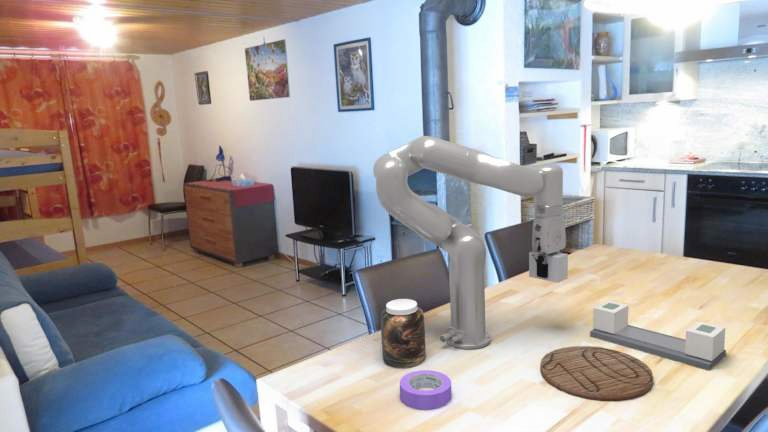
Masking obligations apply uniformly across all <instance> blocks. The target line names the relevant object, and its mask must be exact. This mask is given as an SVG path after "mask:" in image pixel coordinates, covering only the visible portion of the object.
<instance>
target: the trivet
mask: <svg viewBox="0 0 768 432" xmlns="http://www.w3.org/2000/svg"><path fill="white" fill-rule="evenodd" d="M539 371H540V374H541V377H542V379H544V381H546V382H547V384H548V385H549V386H551V387H553V388H555V389H556V390H557V391H560V392H562V393H565V394H567V395H570V396H572V397H573V396H574V397H576V398H581V399H585V400H591V401H596V402H597V401H598V402H622V401H629V400H634V399H638V398H640V397H642V396H643V397H644V395H646V394H647V393H649V392H650V391H651V389H652V387H653V385H654V375H653V370H652V369H651V368H650V367H649V366H648V365H647V364H646V363H645V362H643V361H642V360H640V359H639V358H637V357H635V356H632V355H631V354H629V353H626V352H622V351H618V350H616V349H611V348H606V347H602V346H601V347H600V346H592V345H591V346H590V345H588V346H587V345H580V346H579V345H574V346H567V347H561V348H557V349H553V350H552V351H549V352H548V353H545V355H544V356H543V357H542V358H541V360H540V364H539Z"/></svg>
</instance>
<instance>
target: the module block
mask: <svg viewBox="0 0 768 432" xmlns="http://www.w3.org/2000/svg"><path fill="white" fill-rule="evenodd" d="M531 252H532V251H530V252H528V267H529V268H528V277H530V278H534V279H538V280H542V281H543V280H544V281H548V282H553V283H557V284H558V283H560V282H562V281H565V280H567V279H568V278H569V277H568V274H569V272H568V271H569V270H568V268H569V267H568V266H569V265H568V263H569V262H568V261H569V260H568V258H569V254H568V253H564V252H563V253H562V252H561V253H559V252H554V253H551V254H548V256H547V262H546V264H548V278H542V277H538V276H537V263H536V262H535V259H534V257H533V256H531ZM540 252H543V251H540ZM540 256H542V258H543V254H540Z"/></svg>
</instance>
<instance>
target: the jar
mask: <svg viewBox="0 0 768 432" xmlns="http://www.w3.org/2000/svg"><path fill="white" fill-rule="evenodd" d="M385 304H386V305H385V309H383V310H382V311H381V313H380V335H381V336H380V337H381V339H380V340H381V356H382V361H383V363H384V364H385V365H386V366H388V367H391V368H396V369H397V368H398V369H409V368H413V367H417V366H419V365H421V364H423V363H424V362H425V361H426V357H427V351H426V349H427V348H426V328H425V313H424V311H423V309H422V308H420V307H419V306H418V303H417V301H416V300H414V299H410V298H398V299H392V300H390V301H388V302H386V303H385Z"/></svg>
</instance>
